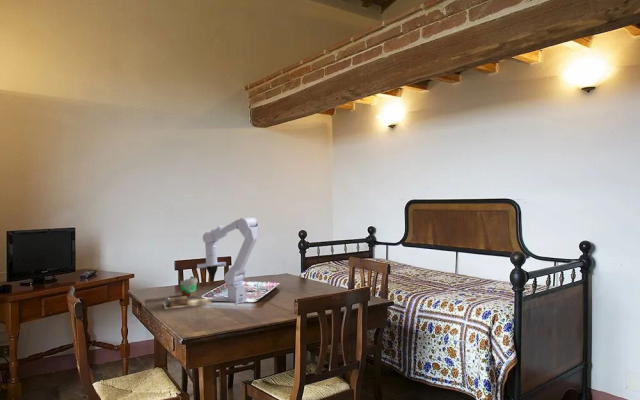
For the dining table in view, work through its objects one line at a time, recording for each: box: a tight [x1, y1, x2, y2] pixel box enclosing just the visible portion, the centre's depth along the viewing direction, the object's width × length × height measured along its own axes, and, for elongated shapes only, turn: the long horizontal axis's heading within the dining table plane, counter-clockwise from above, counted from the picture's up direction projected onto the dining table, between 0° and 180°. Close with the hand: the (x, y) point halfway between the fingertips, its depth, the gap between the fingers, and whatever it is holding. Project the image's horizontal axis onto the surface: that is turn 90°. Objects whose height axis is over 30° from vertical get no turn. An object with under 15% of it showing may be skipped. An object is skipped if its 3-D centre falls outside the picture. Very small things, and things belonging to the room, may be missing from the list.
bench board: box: [163, 297, 213, 310], centre depth 224 cm, size 22×12×2 cm, turn 112°
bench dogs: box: [164, 296, 170, 307], centre depth 220 cm, size 2×6×4 cm, turn 22°
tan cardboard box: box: [169, 296, 189, 307], centre depth 222 cm, size 8×6×3 cm
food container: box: [179, 276, 199, 297], centre depth 243 cm, size 12×6×10 cm, turn 168°
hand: (212, 280), depth 238 cm, fingers closed
